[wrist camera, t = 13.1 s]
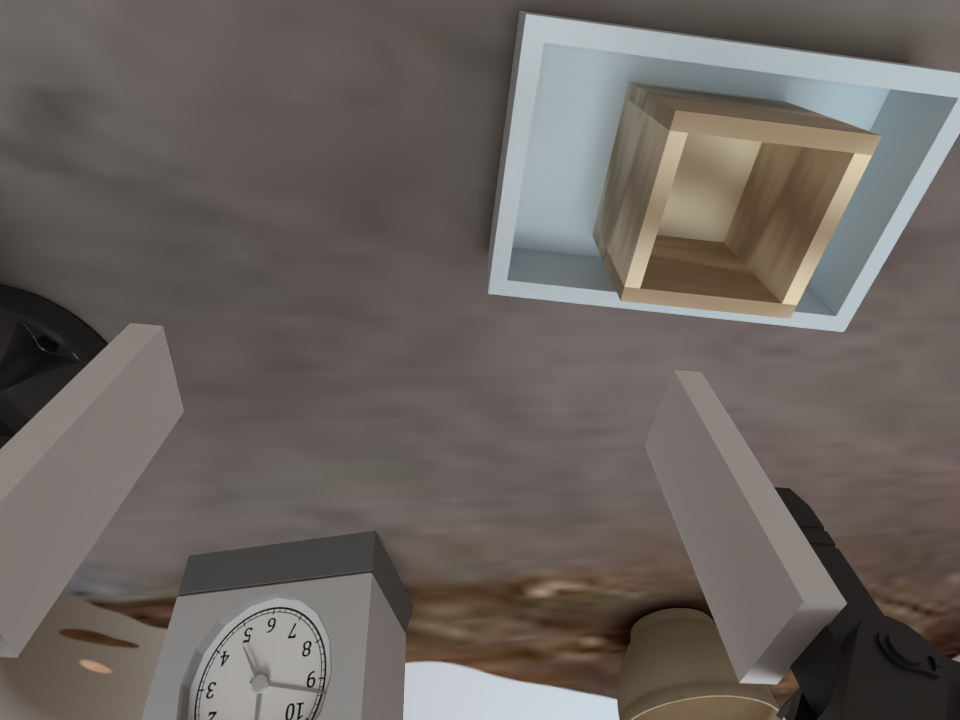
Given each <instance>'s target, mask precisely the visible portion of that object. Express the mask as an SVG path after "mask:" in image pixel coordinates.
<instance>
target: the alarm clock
mask: <svg viewBox="0 0 960 720" xmlns="http://www.w3.org/2000/svg"><path fill="white" fill-rule="evenodd" d="M178 594H179V595H180V596H181V597H177V600H176V603H175V607H174V610H173V614H172V617H171V620H170V624H169V627H168V631H167V634H166V637H165V641H164V644H163V648H162V652H161V654H160V658H159V661H158V665H157V668H156V671H155V675H154V678H153V682H152V685H151V688H150V692H149V695H148V699H147V702H146V705H145V709H144V712H143V716H142V719H141V720H403V703H404V676H405V649H406V634H405V632H406V631H407V627H408V623H409V619H410V616H411V612H412V608H413V604H412V602H411V600H410V598H409V596H408V594H407V592H406V590H405V588H404V586H403V584H402V582H401V580H400V578H399V576H398V575H397V573H396V571H395V569H394V567H393V565H392V563H391V561H390V559H389V557H388V555H387V553H386V551H385V549H384V547H383V545H382V543H381V541H380V539H379V537H378V535H377V533H376V531H371V532H363V533H356V534H348V535H341V536H333V537H326V538H319V539H311V540H304V541H296V542H289V543H281V544H274V545H267V546H259V547H252V548H244V549H237V550H229V551H222V552H215V553H207V554H200V555H192V556H189V560H188V563H187V566H186V569H185V573H184V576H183V579H182V583H181V586H180V589H179V592H178Z"/></svg>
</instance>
